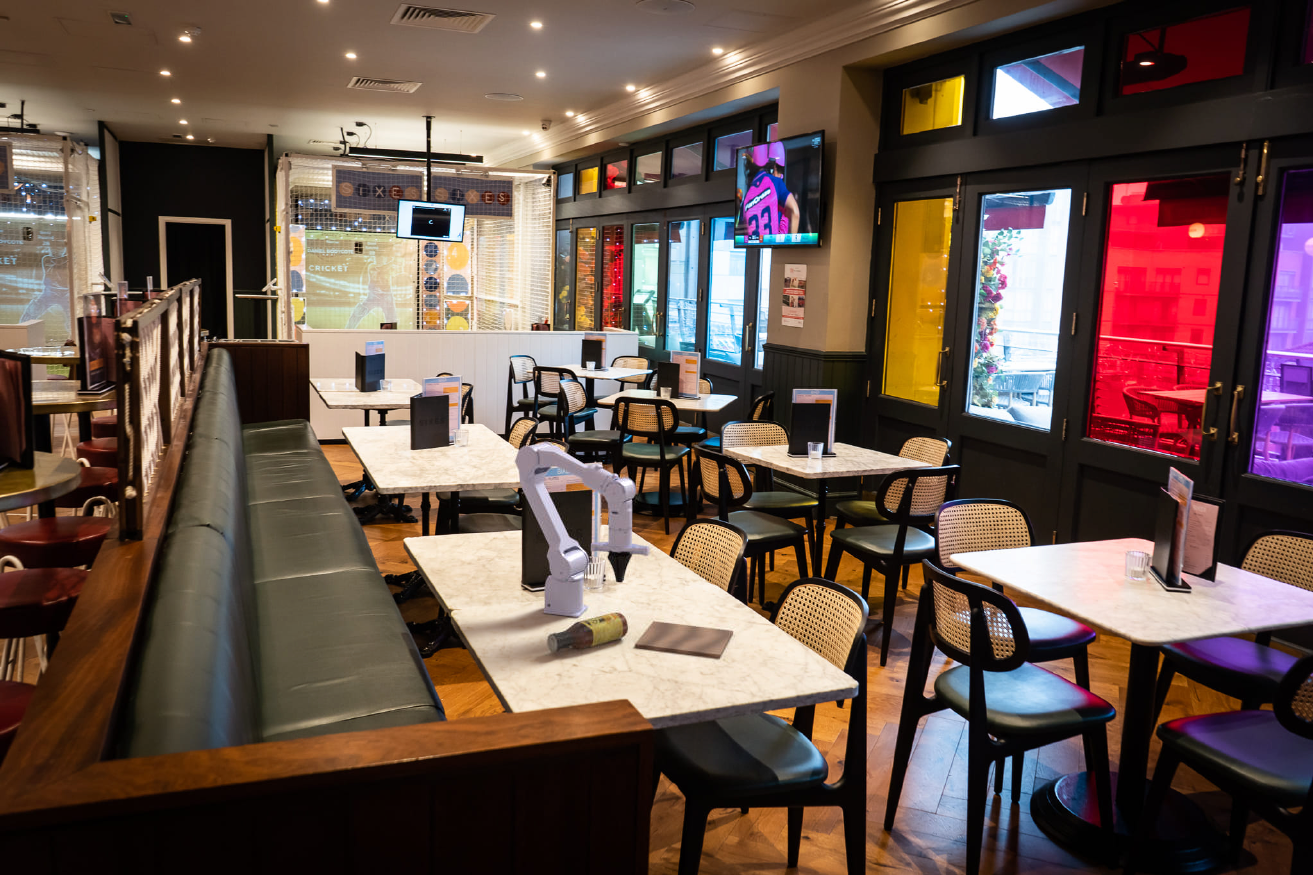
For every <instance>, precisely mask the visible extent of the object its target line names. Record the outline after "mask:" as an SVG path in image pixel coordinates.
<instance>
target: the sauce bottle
mask: <svg viewBox="0 0 1313 875" xmlns="http://www.w3.org/2000/svg"><path fill="white" fill-rule="evenodd" d="M628 631H629V625H628V621H627V618H626V616H624V614H622V613H621V612H612V613H607V614H603V615H599V616H594V617H591V618H587V619H584V620H579V621H576V622H575V623H573V624H572V625H571V626H570V627H568V628H567V629H565V630H562V631H561V632H553V633H549V635H548V636H547V639H546V640H547V641H546V643H547V646H548V649H549V650H550V651H551V652H552V653H553V652H554V653H556V652H559V651H561V650H563V649H568V648H572V649H575V650H583V649H586V648H591V647H596V646H598V645H602V644H605V643H609V642H612V641H617V640H619V639H622V638H624V637H626V635H627V633H628Z"/></svg>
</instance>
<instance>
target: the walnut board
mask: <svg viewBox="0 0 1313 875" xmlns="http://www.w3.org/2000/svg"><path fill="white" fill-rule="evenodd" d="M733 635H734V630H730V629H729V630H728V629H721V628H712V627H705V626H696V625H688V624H680V623H671V622H663V621H655V620H653V621H652V622H651V624H650V625H649V626H648V628H647V629H646V630H645V631H644V632H643V633H642V635H641V636H640V637H639V638H638V640H637V641H636V642H635V643H634V647H635V648H637V649H647V650H653V651H662V652H671V653H677V654H683V655H684V654H685V655H692V656H698V657H699V656H700V657H707V658H708V657H709V658H714V659H721V658H722V656H723V653H724V652H725V650H726V648H727V647H728V645H729V642H730V641H731V639H732V637H733Z"/></svg>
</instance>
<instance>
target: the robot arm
mask: <svg viewBox="0 0 1313 875" xmlns="http://www.w3.org/2000/svg"><path fill="white" fill-rule="evenodd" d="M514 463H515V465H516V467H517V469H518V474H519V483H520V484H519V485H520V487H521V489H522V491H523V493H524V495H525V498H526V500H527V501H528V504H529V505H530V508H531V510H532V512H533V514H534V516H535V518H536V521H537V522H538V525H539V527H540V529H541V531H542V533H543V535H544V537H545V539H546V541H547V543H548V546H549V547H548V551H547V554H546V557H547V560H548V563H549V571H550V574H551V575H548V576H547V578H546V581H545V584H544V606H543V607H544V608H543V612H542V613H544V614H550V615H557V616H566V617H575V618H579V617H580V616H581V615H582V614H583V613H584V612H585V611H586V610H587V609H588V608H589V605H586V604H585V605H584V575H585V571H586V570H587V568H588V566H589V564H590V559H589V555H588V553H587V552H586V550H584V549H583V548H582V547H581V546H580V544H579V542H578V541H577V540H575V539H573V538H572V537H570V536H569V534H568V532H567V529H566V526H565V525H564V523H563V520H562V519H561V517H560V514H559V512H558V511H557V508H556V505H555V504H554V502H553V500H552V497H551V496H550V493H549V491H548V489H547V488H546V486H545V483H544V481H545V478H546V475H547V474H548V473H549V471H550V469H552V467H557V468H559V469H561V470H563V471H565V472H567V473H568V474H571V475H573V476H576V477H578V478H580V479H581V482H582V484H583V486H585V487H587V488H589V489H591V490H593V491H595V492H597V493H598V494H600V495H601V496H603V497H604V499H605V500H606V502H607V509H608V541H606V542H605V541H601V542H600V541H598V542H597V541H593V542H592V543H590V552H602V553H603V552H605V553H608V554H607V556H606V558H607V560H608V562H609V564H610V566H611V568H612V571H613V573H614V578H615V582H616V583H623V582H624V580H625V575H626V571H627V568H628V565H629V563H630V561H631V559H632V557H633V555H640V556H641V555H642V556H645V557H648V556H649V555H650V553H651V552H650V548H651V547H650V546H647V545H641V544H636V543H633V537H632V536H633V533H632V532H633V500H632V499H634V498H635V496H636V494H637V486H636V484H635V482H634V481H633V480H632V479H631V478H629V477H628V476H622V477H619V474H617V473H611V472H610V471H608V470H607V469H604V468H603V465H602V464H599V463H598V464H591V465H589V466H588V465H586V464H585V463H583V462H582V461H580V460H578V459H576V458H575V457H573V456H571V455H570V454H568V453H567V452H565V451H563V450H562V449H561V448H560V447H559V446H558V445H555V444H552V443H551V442H549V441H542V442H540V443H537V444H532V445H523V446H522V447H521V448H520V449H519V450H518V451H517V454H516V456H515V460H514Z"/></svg>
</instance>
